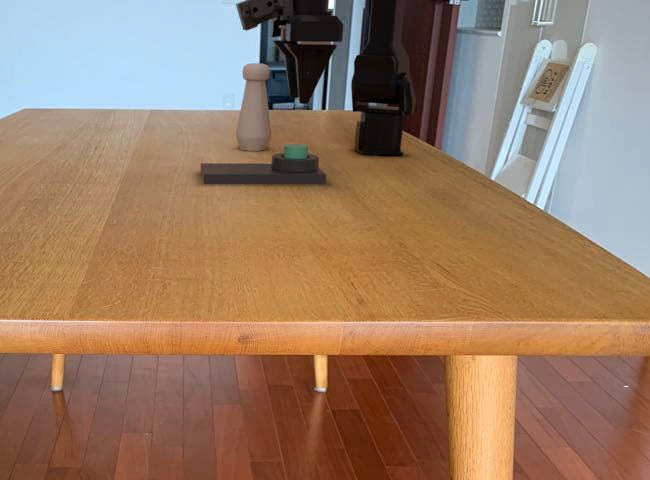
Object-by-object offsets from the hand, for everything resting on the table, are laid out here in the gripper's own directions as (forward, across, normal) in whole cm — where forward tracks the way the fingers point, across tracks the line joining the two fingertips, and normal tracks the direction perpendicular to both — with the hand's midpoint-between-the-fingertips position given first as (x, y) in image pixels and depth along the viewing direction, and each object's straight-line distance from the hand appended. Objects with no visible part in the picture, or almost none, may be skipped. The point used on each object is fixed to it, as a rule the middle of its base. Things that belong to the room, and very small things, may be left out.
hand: (298, 100), depth 105 cm
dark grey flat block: (+10, 0, -4) cm, 11 cm away
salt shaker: (+10, -26, -2) cm, 28 cm away
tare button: (+7, 0, 0) cm, 7 cm away
